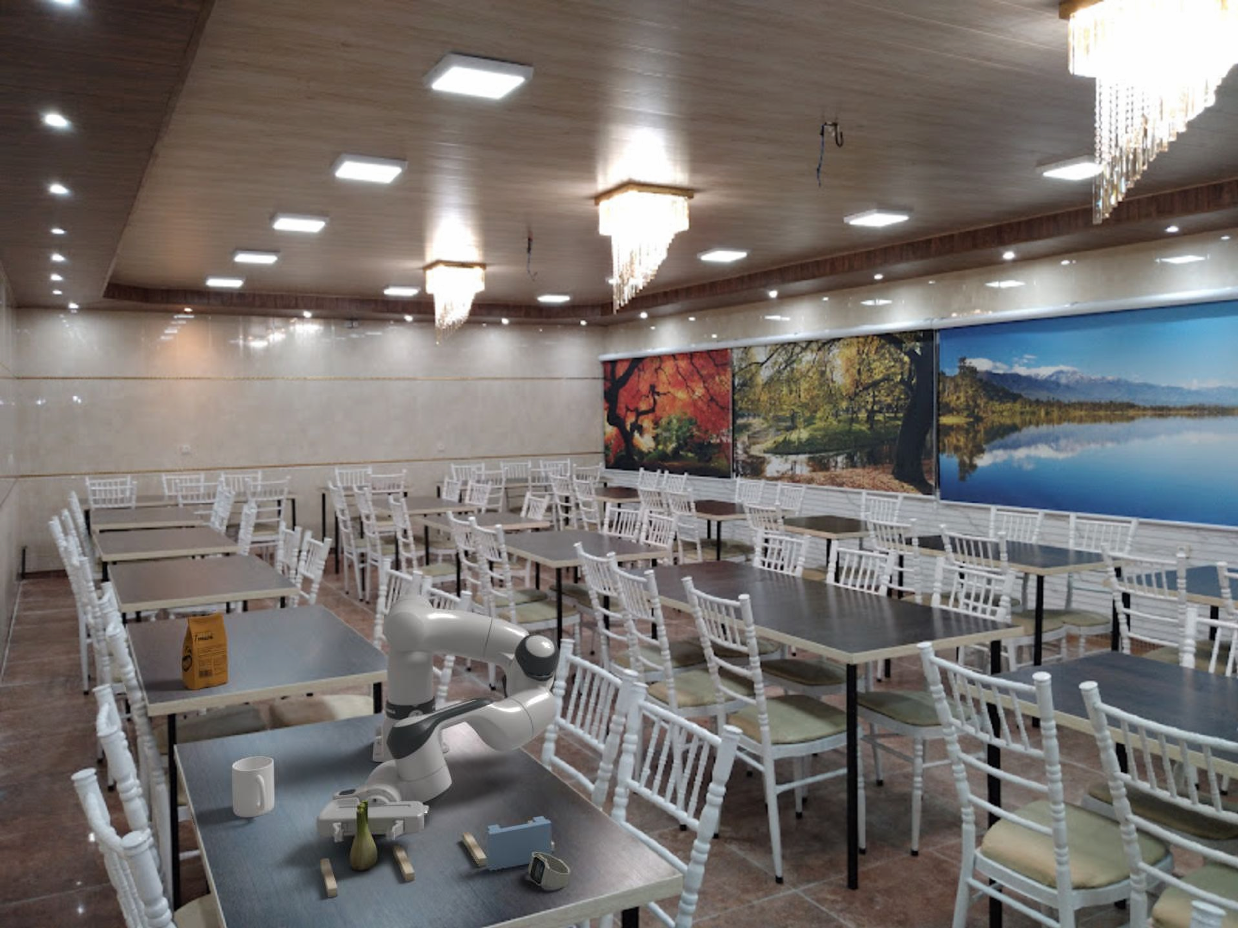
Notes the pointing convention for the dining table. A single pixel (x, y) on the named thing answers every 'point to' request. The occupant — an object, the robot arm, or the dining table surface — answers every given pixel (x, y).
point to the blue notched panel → (518, 843)
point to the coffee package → (205, 652)
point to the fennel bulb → (363, 841)
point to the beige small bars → (406, 862)
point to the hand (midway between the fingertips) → (364, 837)
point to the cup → (253, 786)
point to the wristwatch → (548, 870)
